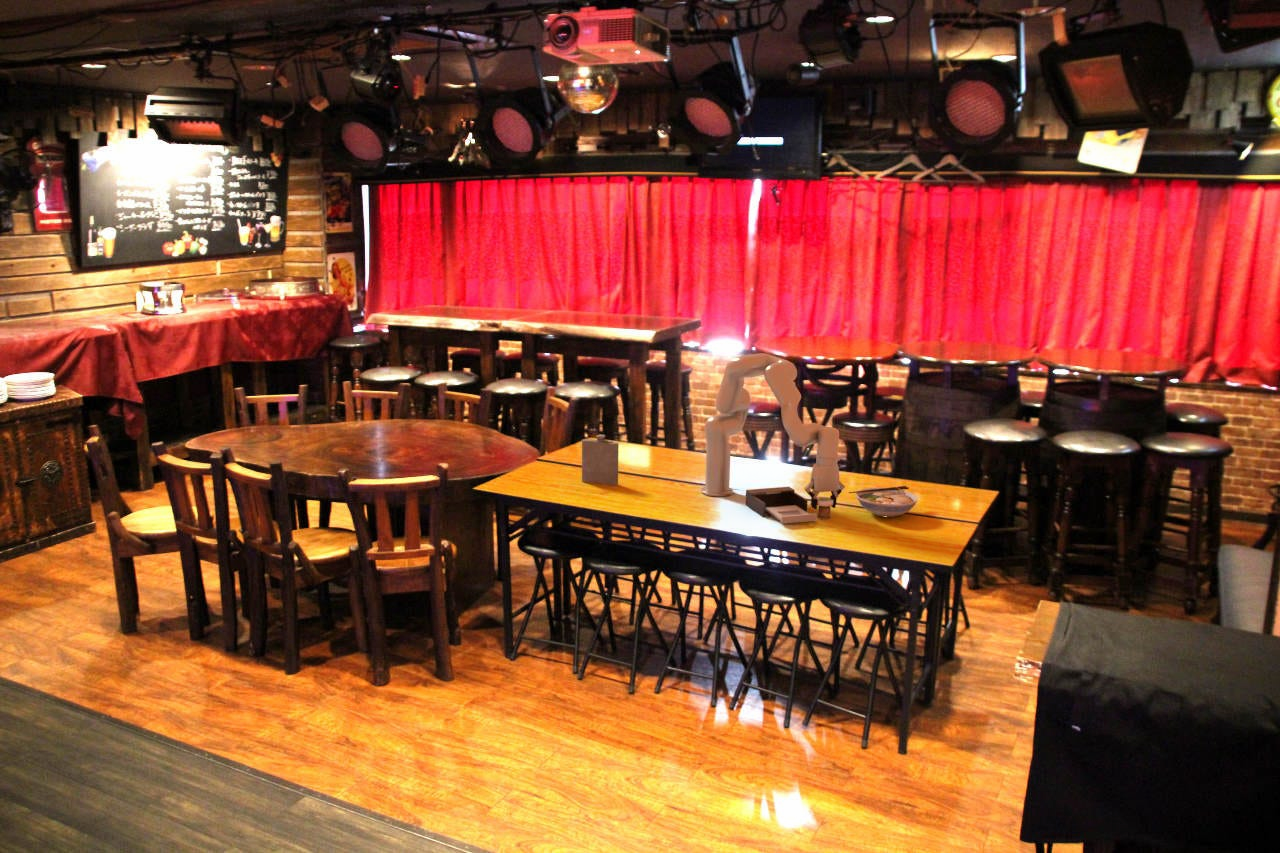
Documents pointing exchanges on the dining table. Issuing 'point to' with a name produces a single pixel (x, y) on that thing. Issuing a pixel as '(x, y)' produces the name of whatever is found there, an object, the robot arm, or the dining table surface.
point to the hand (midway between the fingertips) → (823, 507)
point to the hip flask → (600, 461)
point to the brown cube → (824, 512)
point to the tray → (791, 514)
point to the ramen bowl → (886, 500)
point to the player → (773, 499)
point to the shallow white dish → (824, 501)
